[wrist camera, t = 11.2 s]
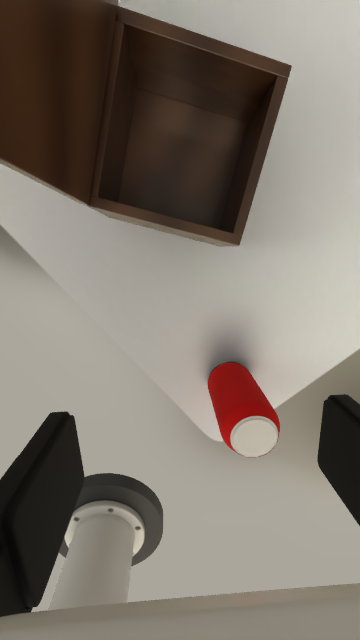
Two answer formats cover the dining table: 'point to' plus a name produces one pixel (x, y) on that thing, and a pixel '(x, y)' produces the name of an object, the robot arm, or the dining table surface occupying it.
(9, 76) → the lid
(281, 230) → the dining table surface
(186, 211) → the chest
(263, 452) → the beverage can
